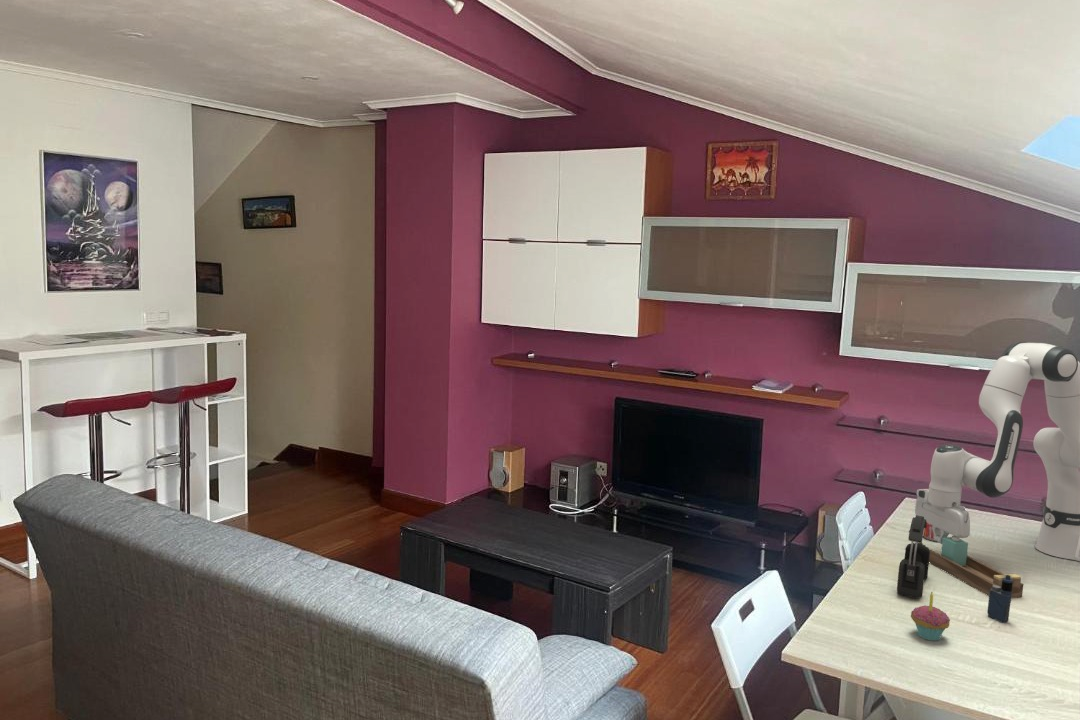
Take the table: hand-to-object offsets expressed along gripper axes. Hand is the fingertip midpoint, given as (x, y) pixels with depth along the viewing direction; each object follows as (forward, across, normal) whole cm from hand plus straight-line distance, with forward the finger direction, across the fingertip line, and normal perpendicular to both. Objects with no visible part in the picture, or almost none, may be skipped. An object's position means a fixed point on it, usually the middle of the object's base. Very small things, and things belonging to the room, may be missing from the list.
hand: (939, 542), depth 248 cm
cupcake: (+6, -45, +38) cm, 59 cm away
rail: (+6, -15, 0) cm, 16 cm away
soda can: (+6, +17, -12) cm, 22 cm away
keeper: (+4, -6, 0) cm, 8 cm away
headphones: (+6, -17, +22) cm, 28 cm away
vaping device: (+6, -39, +13) cm, 41 cm away
